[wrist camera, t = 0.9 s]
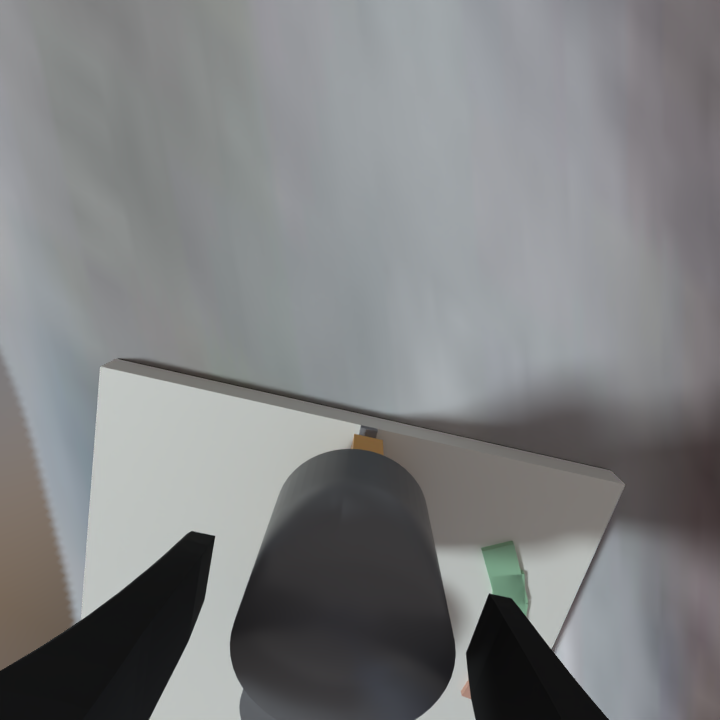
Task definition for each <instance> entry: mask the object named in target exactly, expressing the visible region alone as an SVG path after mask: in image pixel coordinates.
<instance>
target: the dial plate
mask: <svg viewBox="0 0 720 720" xmlns="http://www.w3.org/2000/svg"><path fill="white" fill-rule="evenodd" d="M354 434H358V435H362V436H367V437H371V438H375V439H380V440H383V451H384V456H386V457H388V458H390V459H392V460H393V461H395V462H397V463H398V464H400V465H401V466H402V467H404V468H405V469H406V470H407V471H408V472H409V473H410V474H411V475H412V476H413V478H414V479H415V480H416V482H417V483H418V485H419V486H420V488H421V490H422V492H423V495H424V497H425V500H426V505H427V509H428V514H429V519H430V524H431V529H432V534H433V538H434V543H435V548H436V553H437V558H438V563H439V567H440V572H441V577H442V582H443V587H444V592H445V596H446V601H447V606H448V611H449V616H450V621H451V626H452V630H453V635H454V640H455V649H456V658H455V666H454V670H453V673H452V677H451V679H450V681H449V684H448V686H447V688H446V690H445V691H444V692H443V694H442V695H441V697H440V698H439V699H438V701H437V702H436V703H435V704H434V705H433V706H432V707H431V708H430V709H429V710H428V711H426V712H425V713H424V714H423V715H422V716H420V717H419V718H417V719H416V720H476V719H475V715H474V710H473V706H472V701H471V695H470V687H469V679H468V669H467V660H466V652H467V649H468V646H469V644H470V641H471V639H472V636H473V633H474V631H475V628H476V626H477V623H478V620H479V618H480V615H481V613H482V610H483V607H484V605H485V602H486V600H487V597H488V595H489V593H490V594H494V595H499V596H504V597H509V598H512V599H513V601H514V602H515V603H516V604H517V605H518V607H519V608H520V609H521V611H522V612H523V613H524V614H525V616H526V617H527V618H528V620H529V621H530V622H531V624H532V625H533V626H534V627H535V629H536V630H537V631H538V633H539V634H540V635H541V637H542V638H543V639H544V641H545V642H546V643H547V644H548V646H549V647H550V648H551V649H552V647H553V645H554V643H555V640H556V638H557V636H558V634H559V631H560V629H561V627H562V625H563V623H564V620H565V618H566V616H567V614H568V611H569V609H570V607H571V605H572V603H573V600H574V598H575V596H576V594H577V591H578V589H579V587H580V585H581V583H582V580H583V578H584V576H585V574H586V571H587V569H588V567H589V565H590V562H591V560H592V558H593V556H594V554H595V551H596V549H597V547H598V545H599V542H600V540H601V538H602V536H603V534H604V531H605V529H606V527H607V525H608V522H609V520H610V518H611V516H612V514H613V511H614V509H615V507H616V505H617V502H618V500H619V498H620V496H621V493H622V491H623V489H624V487H625V484H624V483H623V482H622V481H621V480H620V479H619V478H618V477H617V476H616V475H615V474H614V473H613V472H612V471H611V470H607V469H602V468H598V467H593V466H589V465H585V464H580V463H576V462H571V461H567V460H562V459H558V458H554V457H549V456H545V455H540V454H536V453H531V452H527V451H523V450H518V449H514V448H509V447H505V446H500V445H496V444H492V443H487V442H483V441H478V440H474V439H469V438H465V437H461V436H456V435H452V434H447V433H443V432H438V431H434V430H430V429H425V428H421V427H416V426H412V425H408V424H403V423H399V422H394V421H390V420H385V419H381V418H377V417H372V416H368V415H363V414H359V413H354V412H350V411H346V410H341V409H337V408H332V407H328V406H323V405H319V404H315V403H310V402H306V401H301V400H297V399H292V398H288V397H284V396H279V395H275V394H270V393H266V392H262V391H257V390H253V389H248V388H244V387H239V386H235V385H231V384H226V383H222V382H217V381H213V380H208V379H204V378H200V377H195V376H191V375H186V374H182V373H177V372H173V371H169V370H164V369H160V368H155V367H151V366H146V365H142V364H138V363H133V362H129V361H124V360H120V359H114V360H112V361H110V362H108V363H106V364H104V365H102V366H100V377H99V390H98V403H97V416H96V429H95V442H94V455H93V468H92V481H91V495H90V508H89V521H88V534H87V547H86V560H85V573H84V586H83V599H82V612H81V620H82V619H83V618H85V617H86V616H88V615H89V614H90V613H92V612H93V611H94V610H96V609H97V608H98V607H100V606H101V605H103V604H104V603H105V602H107V601H108V600H109V599H111V598H112V597H113V596H115V595H116V594H117V593H119V592H120V591H121V590H122V589H124V588H125V587H126V586H127V585H129V584H130V583H131V582H132V581H134V580H135V579H136V578H137V577H138V576H140V575H141V574H142V573H143V572H144V571H146V570H147V569H148V568H149V567H151V566H152V565H153V564H154V563H155V562H156V561H157V560H159V559H160V558H161V557H162V556H163V555H164V554H165V553H167V552H168V551H169V550H170V549H171V548H172V547H173V546H174V545H175V544H176V543H177V542H179V541H180V540H181V539H182V538H183V537H184V536H185V535H186V534H187V533H189V532H191V531H194V532H199V533H204V534H209V535H213V536H215V541H214V547H213V553H212V559H211V565H210V571H209V577H208V583H207V589H206V595H205V600H204V603H203V605H202V608H201V611H200V613H199V616H198V619H197V621H196V624H195V626H194V629H193V631H192V634H191V636H190V639H189V641H188V644H187V646H186V648H185V650H184V652H183V654H182V656H181V658H180V660H179V662H178V664H177V666H176V668H175V670H174V672H173V674H172V675H171V677H170V679H169V681H168V683H167V685H166V687H165V689H164V691H163V693H162V695H161V697H160V699H159V701H158V703H157V705H156V707H155V709H154V711H153V713H152V715H151V717H150V719H149V720H241V716H240V710H239V704H240V698H241V694H242V691H243V688H242V686H241V684H240V683H239V681H238V679H237V677H236V674H235V672H234V669H233V666H232V661H231V657H230V637H231V631H232V628H233V624H234V621H235V618H236V615H237V612H238V609H239V606H240V604H241V601H242V598H243V595H244V592H245V589H246V587H247V584H248V581H249V578H250V575H251V572H252V569H253V567H254V564H255V561H256V558H257V555H258V552H259V549H260V547H261V544H262V541H263V538H264V535H265V532H266V530H267V527H268V524H269V521H270V518H271V515H272V512H273V510H274V507H275V504H276V501H277V498H278V495H279V493H280V491H281V488H282V486H283V484H284V483H285V481H286V480H287V478H288V477H289V476H290V475H291V474H292V472H293V471H294V470H295V469H297V468H298V467H299V466H300V465H301V464H303V463H304V462H306V461H307V460H309V459H311V458H313V457H315V456H317V455H319V454H322V453H325V452H329V451H333V450H339V449H351V445H352V441H353V437H354Z"/></svg>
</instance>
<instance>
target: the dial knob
mask: <svg viewBox="0 0 720 720" xmlns="http://www.w3.org/2000/svg"><path fill="white" fill-rule="evenodd" d="M230 657H231V661H232V666H233V669H234V672H235V674H236V677H237V679H238V681H239V683H240V684H241V686H242V688H243V691H242V694H241V698H240V704H239V710H240V716H241V720H416V719H417V718H419V717H420V716H422V715H423V714H424V713H425V712H426V711H428V710H429V709H430V708H431V707H432V706H433V705H434V704H435V703H436V702H437V701H438V699H439V698H440V697H441V695H442V694H443V692H444V691H445V690H446V688H447V686H448V684H449V681H450V679H451V677H452V673H453V670H454V666H455V658H456V649H455V640H454V635H453V630H452V626H451V621H450V616H449V611H448V606H447V601H446V596H445V592H444V587H443V582H442V577H441V572H440V567H439V563H438V558H437V553H436V548H435V543H434V538H433V534H432V529H431V524H430V519H429V514H428V509H427V505H426V500H425V497H424V495H423V492H422V490H421V488H420V486H419V485H418V483H417V482H416V480H415V479H414V478H413V476H412V475H411V474H410V473H409V472H408V471H407V470H406V469H405V468H404V467H402V466H401V465H400V464H398V463H397V462H395V461H393V460H392V459H390V458H388V457H386V456H384V451H383V440H380V439H375V438H371V437H367V436H362V435H358V434H354V437H353V441H352V445H351V449H339V450H333V451H329V452H325V453H322V454H319V455H317V456H315V457H313V458H311V459H309V460H307V461H306V462H304V463H303V464H301V465H300V466H299V467H298V468H297V469H295V470H294V471H293V472H292V474H291V475H290V476H289V477H288V478H287V480H286V481H285V483H284V484H283V486H282V488H281V491H280V493H279V495H278V498H277V501H276V504H275V507H274V510H273V512H272V515H271V518H270V521H269V524H268V527H267V530H266V532H265V535H264V538H263V541H262V544H261V547H260V549H259V552H258V555H257V558H256V561H255V564H254V567H253V569H252V572H251V575H250V578H249V581H248V584H247V587H246V589H245V592H244V595H243V598H242V601H241V604H240V606H239V609H238V612H237V615H236V618H235V621H234V624H233V628H232V631H231V637H230Z"/></svg>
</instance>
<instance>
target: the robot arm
mask: <svg viewBox="0 0 720 720" xmlns="http://www.w3.org/2000/svg"><path fill="white" fill-rule="evenodd" d="M214 541H215V536H213V535H209V534H204V533H199V532H194V531H191V532H189V533H187V534H186V535H185V536H184V537H183V538H182V539H181V540H180V541H179V542H177V543H176V544H175V545H174V546H173V547H172V548H171V549H170V550H169V551H168V552H167V553H165V554H164V555H163V556H162V557H161V558H160V559H159V560H157V561H156V562H155V563H154V564H153V565H152V566H151V567H149V568H148V569H147V570H146V571H144V572H143V573H142V574H141V575H140V576H138V577H137V578H136V579H135V580H134V581H132V582H131V583H130V584H129V585H127V586H126V587H125V588H124V589H122V590H121V591H120V592H119V593H117V594H116V595H115V596H113V597H112V598H111V599H109V600H108V601H107V602H105V603H104V604H103V605H101V606H100V607H98V608H97V609H96V610H94V611H93V612H92V613H90V614H89V615H88V616H86V617H85V618H83V619H82V620H81V621H79V622H78V623H76V624H75V625H73V626H72V627H70V628H69V629H67V630H66V631H64V632H63V633H61V634H60V635H58V636H57V637H55V638H54V639H52V640H51V641H49V642H47V643H46V644H44V645H43V646H41V647H40V648H38V649H36V650H35V651H33V652H31V653H30V654H28V655H27V656H25V657H23V658H21V659H20V660H18V661H16V662H14V663H13V664H11V665H9V666H8V667H6V668H4V669H3V670H1V671H0V720H149V719H150V717H151V715H152V713H153V711H154V709H155V707H156V705H157V703H158V701H159V699H160V697H161V695H162V693H163V691H164V689H165V687H166V685H167V683H168V681H169V679H170V677H171V675H172V674H173V672H174V670H175V668H176V666H177V664H178V662H179V660H180V658H181V656H182V654H183V652H184V650H185V648H186V646H187V644H188V641H189V639H190V636H191V634H192V631H193V629H194V626H195V624H196V621H197V619H198V616H199V613H200V611H201V608H202V605H203V603H204V600H205V595H206V589H207V583H208V577H209V571H210V565H211V559H212V553H213V547H214ZM466 660H467V669H468V679H469V687H470V695H471V701H472V706H473V710H474V715H475V719H476V720H609V719H608V718H607V717H606V716H605V715H604V713H603V712H602V711H601V710H600V709H599V708H598V706H597V705H596V704H595V703H594V702H593V701H592V699H591V698H590V697H589V696H588V695H587V693H586V692H585V691H584V690H583V689H582V687H581V686H580V685H579V684H578V683H577V681H576V680H575V679H574V678H573V676H572V675H571V674H570V673H569V671H568V670H567V669H566V668H565V666H564V665H563V664H562V663H561V661H560V660H559V659H558V657H557V656H556V655H555V654H554V652H553V651H552V650H551V648H550V647H549V646H548V644H547V643H546V642H545V641H544V639H543V638H542V637H541V635H540V634H539V633H538V631H537V630H536V629H535V627H534V626H533V625H532V624H531V622H530V621H529V620H528V618H527V617H526V616H525V614H524V613H523V612H522V611H521V609H520V608H519V607H518V605H517V604H516V603H515V602H514V601H513V599H512V598H509V597H504V596H499V595H494V594H490V593H489V595H488V597H487V600H486V602H485V605H484V607H483V610H482V613H481V615H480V618H479V620H478V623H477V626H476V628H475V631H474V633H473V636H472V639H471V641H470V644H469V646H468V649H467V652H466Z"/></svg>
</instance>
